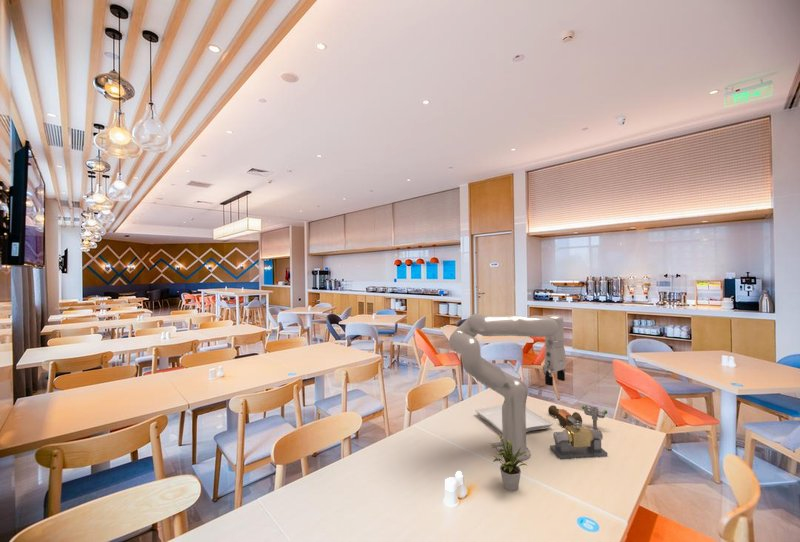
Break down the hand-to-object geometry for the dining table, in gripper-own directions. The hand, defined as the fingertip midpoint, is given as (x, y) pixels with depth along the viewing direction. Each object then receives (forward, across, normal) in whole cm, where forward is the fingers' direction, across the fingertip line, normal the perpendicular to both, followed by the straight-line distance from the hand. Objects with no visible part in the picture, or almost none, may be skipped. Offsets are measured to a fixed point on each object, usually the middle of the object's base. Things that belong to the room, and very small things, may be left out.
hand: (555, 382), depth 149 cm
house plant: (+27, -40, -4) cm, 49 cm away
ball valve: (+27, 0, -9) cm, 29 cm away
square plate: (+28, +3, +25) cm, 37 cm away
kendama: (+28, +23, +8) cm, 37 cm away
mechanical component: (+27, +27, -4) cm, 39 cm away
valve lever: (+16, +3, -5) cm, 17 cm away
